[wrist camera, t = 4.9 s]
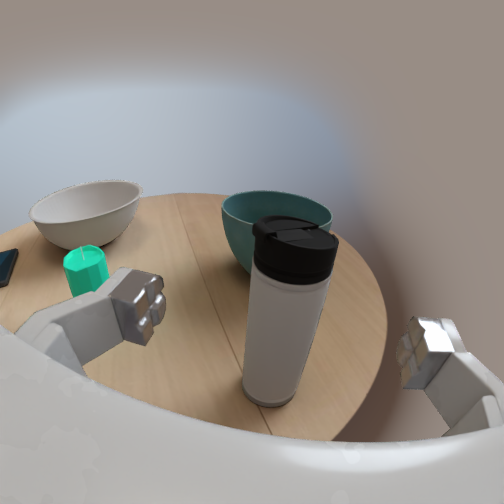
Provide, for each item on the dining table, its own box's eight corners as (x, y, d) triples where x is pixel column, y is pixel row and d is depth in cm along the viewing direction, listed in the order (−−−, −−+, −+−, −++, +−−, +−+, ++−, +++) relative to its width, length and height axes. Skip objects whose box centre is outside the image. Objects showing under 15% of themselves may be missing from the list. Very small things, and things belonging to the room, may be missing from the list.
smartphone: (19, 250, 49) (18, 247, 48) (7, 285, 38) (6, 281, 37) (-5, 257, 45) (-6, 253, 45) (-19, 292, 34) (-21, 288, 34)
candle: (88, 305, 38) (69, 236, 32) (122, 305, 39) (107, 234, 33) (78, 331, 33) (52, 258, 27) (115, 333, 34) (94, 257, 28)
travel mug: (230, 376, 30) (236, 211, 21) (278, 358, 33) (307, 204, 24) (255, 417, 26) (282, 250, 16) (306, 394, 29) (359, 234, 19)
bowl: (66, 217, 66) (61, 184, 61) (155, 214, 71) (153, 177, 66) (19, 270, 43) (6, 226, 38) (132, 271, 47) (125, 220, 42)
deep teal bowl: (213, 248, 57) (214, 190, 51) (297, 243, 61) (305, 190, 55) (230, 306, 42) (233, 232, 36) (336, 293, 46) (354, 228, 40)
